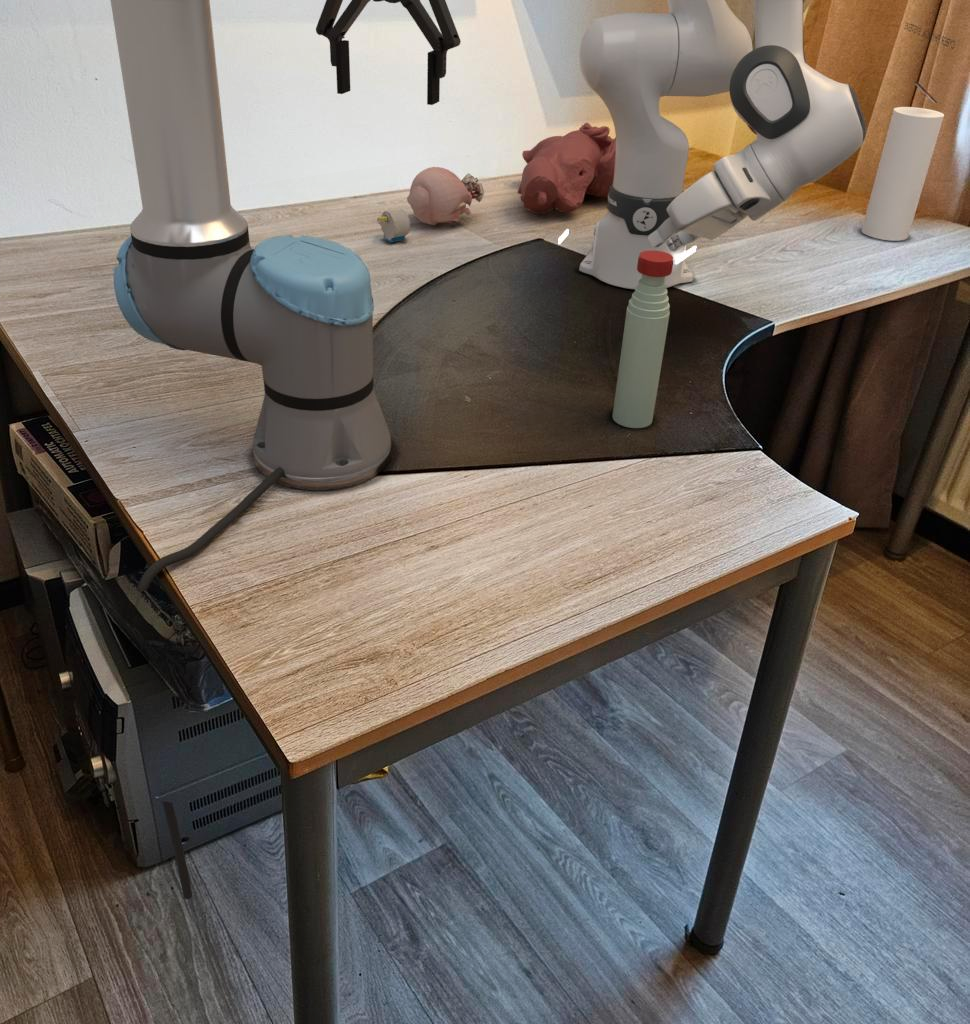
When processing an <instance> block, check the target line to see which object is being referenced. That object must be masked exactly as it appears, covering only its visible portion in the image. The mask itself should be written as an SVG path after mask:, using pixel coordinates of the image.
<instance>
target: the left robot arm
mask: <svg viewBox="0 0 970 1024" xmlns="http://www.w3.org/2000/svg"><path fill="white" fill-rule="evenodd" d="M343 1H344V0H325V3H324V5H323V8H322V11H321V13H320V16H319V19H318V22H317V24H316V27H315V33H316V34H317V35H318V36H323V37H324V38H326V39H327V40H328V42H329V54H330V56H329V57H330V65H331V67H335V70H336V71H335V72H336V94H339V95H343V94H346V93H349V92H351V67H350V66H351V63H350V41H349V40H345V38H346V36H345V35H347V33H348V31H349V30H350V29H351V27H352V26H353V24H354V23H355V21H356V20H357V19H358V18H359V16H360V14H361V13H362V12H363V10H364V9H365V8H366V6H367V5H368V4H369V3H370V2H371V1H372V2H377V3H380V2H384V1H385V2H387V3H389V4H398V3H400V4H401V5H402V7H403V8H405V9H406V10H407V12H408V13H409V15H410V17H411V18H412V20H413V21H414V22H415V24H416V26H417V27H418V29H419V31H420V32H421V33H422V35H423V36H424V38H425V39H426V40H427V43H428V44H429V46H430V47H431V48H432V50H431V51H428V52H427V74H426V75H427V79H426V80H427V85H426V87H427V88H426V105H429V106H433V105H435V104H438V103H440V93H441V92H440V91H441V90H440V89H441V87H440V86H441V83H440V81H441V79H443V78H445V77H446V74H447V54H448V51H449V50H451V49H454V48H457V47H459V46H460V45H461V42H462V41H461V38H460V35H459V33H458V30H457V27H456V24H455V22H454V19H453V17H452V14H451V11H450V9H449V7H448V4H447V1H446V0H428V2H429V5H430V8H431V10H432V13H433V15H434V18H435V21H436V23H437V25H438V26H437V25H436V23H435V22H434V20H433V19H432V17H431V15H429V13H428V11H427V9H426V8H425V6H424V5H423V3H422V2H421V0H351V1H350V2H349V3H348V5H347V6H346V8H345V9H344V11H343V12H342V14H341V15H340V16H339V18H338V19H337V17H338V14H339V12H340V9H341V6H342V4H343ZM110 6H111V12H112V19H113V20H112V21H113V27H114V31H115V39H116V45H117V52H118V59H119V64H120V70H121V77H122V84H123V90H124V96H125V97H124V98H125V103H126V110H127V116H128V122H129V123H128V124H129V129H130V136H131V142H132V149H133V156H134V161H135V169H136V175H137V180H138V187H139V194H140V199H141V206H142V210H141V211H140V212H139V214H138V215H137V216H136V217H135V218H134V220H133V221H132V222H131V224H130V225H129V232H130V236H128V237H127V238H126V239H125V240H124V241H123V243H122V244H121V246H120V247H119V249H118V252H117V256H116V260H117V261H118V265H117V266H114V268H113V288H114V294H115V298H116V302H117V305H118V307H119V310H120V312H121V315H122V316H123V318H124V319H125V321H126V323H127V324H128V325H129V327H130V328H131V329H133V331H134V332H136V333H137V334H138V335H139V336H141V337H143V338H144V339H145V340H148V341H150V342H154V343H157V344H161V345H164V346H167V347H169V348H171V349H174V350H178V351H191V352H197V353H202V354H207V355H211V356H216V357H222V358H226V359H231V360H236V361H242V362H248V363H251V364H252V363H253V364H257V365H259V366H261V370H262V379H263V388H264V390H263V391H264V396H263V400H262V404H261V408H260V412H259V415H258V419H257V423H256V427H255V430H254V434H253V439H252V441H253V442H252V455H253V460H254V464H255V467H256V468H257V470H258V471H259V472H260V473H261V474H262V475H263V476H265V477H266V478H265V479H264V480H262V481H261V482H260V483H259V484H258V485H257V486H255V488H254V489H252V491H250V493H249V494H247V496H245V497H244V499H242V500H241V501H240V502H239V503H238V504H237V505H236V506H235V507H234V508H233V509H232V510H231V511H229V512H228V513H227V514H226V515H224V516H223V517H222V518H221V519H220V520H219V521H218V522H216V523H214V525H212V526H211V527H210V528H208V530H206V532H204V533H203V534H202V535H201V536H200V537H199V538H198V539H197V540H195V541H194V542H192V543H191V544H190V545H188V546H187V547H185V548H183V549H180V550H177V551H174V552H172V553H170V554H167V555H164V556H162V557H161V558H158V559H157V560H155V561H154V562H153V563H152V564H150V566H149V567H147V569H146V570H145V571H144V573H143V574H142V576H141V577H140V580H139V581H138V584H137V586H136V588H135V589H136V592H137V593H143V592H145V591H147V590H148V589H149V587H150V586H151V584H152V582H153V581H154V579H155V577H156V576H157V575H158V574H159V573H160V572H161V571H162V570H164V569H166V568H167V567H170V566H172V565H175V564H177V563H180V562H183V561H185V560H187V559H190V558H191V557H193V556H194V555H196V554H198V553H199V552H200V551H201V550H203V549H204V548H205V547H206V546H207V545H209V544H210V543H211V542H212V541H213V540H215V539H216V538H217V536H219V535H220V534H221V533H222V532H223V531H224V530H226V529H227V528H228V527H229V526H230V525H232V524H233V523H235V521H237V519H239V518H240V517H241V516H242V515H243V514H244V513H245V512H246V511H247V510H248V509H249V508H250V507H251V506H252V505H253V504H254V503H255V502H257V500H259V498H261V497H262V496H263V495H264V494H265V493H266V492H267V491H268V490H269V489H270V488H271V487H273V486H274V484H276V483H278V484H280V485H283V486H286V487H290V488H295V489H301V490H312V491H314V490H315V491H323V490H327V491H328V490H337V489H342V488H348V487H351V486H355V485H358V484H361V483H363V482H366V481H368V480H370V479H373V478H374V477H375V476H377V475H378V474H380V473H381V472H382V471H383V470H384V469H385V468H386V467H387V466H388V464H389V463H390V461H391V458H392V437H391V432H390V430H389V427H388V424H387V422H386V419H385V417H384V413H383V411H382V408H381V406H380V403H379V400H378V398H377V395H376V393H375V385H374V320H373V319H374V318H373V317H374V315H373V314H374V308H375V301H374V297H373V292H372V283H371V275H370V270H369V267H368V266H367V264H366V263H365V262H364V260H363V259H362V258H361V257H360V256H359V254H357V253H356V252H355V251H353V250H352V249H351V248H348V247H346V246H345V245H343V244H340V243H338V242H335V241H331V240H329V239H324V238H322V237H317V236H310V235H300V236H299V237H296V236H293V235H288V234H287V235H279V236H273V237H269V238H265V239H264V240H262V241H260V242H259V243H258V244H257V245H255V247H254V248H253V247H251V242H250V241H251V240H250V233H249V223H248V220H247V219H246V218H245V216H243V215H242V214H240V213H239V212H238V211H237V210H236V209H234V207H233V206H232V203H231V194H230V185H229V183H230V182H229V175H228V174H229V173H228V165H227V156H226V155H227V154H226V146H225V137H224V129H223V128H224V127H223V118H222V117H223V115H222V106H221V97H220V88H219V78H218V67H217V59H216V57H217V56H216V49H215V40H214V30H213V29H214V28H213V21H212V20H213V19H212V11H211V2H210V0H110ZM336 19H337V21H336ZM161 803H162V807H163V812H164V816H165V819H166V824H167V828H168V832H169V837H170V841H171V844H172V849H173V854H174V857H175V862H176V866H177V871H178V877H179V881H180V885H181V886H180V887H181V892H182V896H183V899H184V900H190V899H191V898H192V897H193V891H192V886H191V885H192V884H191V880H190V875H189V870H188V865H187V860H186V855H185V850H184V847H183V846H184V845H183V841H182V838H181V837H182V836H181V833H180V829H179V825H178V820H177V816H176V812H175V808H174V803H173V802H170V801H165V800H162V801H161Z"/></svg>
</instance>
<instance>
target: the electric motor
mask: <svg viewBox="0 0 970 1024" xmlns="http://www.w3.org/2000/svg"><path fill="white" fill-rule="evenodd" d="M376 222H377V224H378V225H380V227H381V231H382V233H383V238H384V240H385V241H388V242H389V243H394V242H395V243H396V242H399V241H404V240H405V238H406V236H407V235H409V233H410V229H411V222H410V218H409V216H408V213H407V212H406V210H404V209H403V208H397V209H392V210H387V211H384V212H383V213H382V214H381V216H378V217H377V218H376Z"/></svg>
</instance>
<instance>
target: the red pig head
mask: <svg viewBox="0 0 970 1024" xmlns="http://www.w3.org/2000/svg"><path fill="white" fill-rule="evenodd" d="M610 130H611V129H610V127H608V126H607V125H605V126H604V125H602V126H600V127H598V126H592V125H591V124H590V123H589V122H585V123H584V124H581V126H580V127H579V129H576V130H573V131H570V132H568V133H566V134H565V135H554V136H549V137H546V138H544V139H542V140H540V141H539V142H538V143H536V145H535V146H534V147H532V148H531V149H529V150H523V151H522V153H521V156H522V158H523V160H524V162H525V163H526V164H525V166H524V168H523V170H522V172H521V173H522V174H521V180H520V181H521V182H520V185H519V186H518V189H517V194H518V195H520V200H521V202H522V203H523V207H524V209H525V210H529V211H530V212H532V213H535V214H546V213H549V212H551V211H552V210H553V209H554V208H555V209H556V210H557V211H559V212H560V213H564V214H569V213H573V212H575V211H578V209H579V208H581V206H582V203H584V199H585V195H591V196H593V197H596V198H599V197H604V198H606V197H607V198H608V194H609V190H610V186H611V185H612V184H613V179H614V169H615V155H616V136H614V138H612V137H611V136H610V135H609V134H610Z"/></svg>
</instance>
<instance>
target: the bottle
mask: <svg viewBox="0 0 970 1024" xmlns="http://www.w3.org/2000/svg"><path fill="white" fill-rule="evenodd" d="M664 280H665V277H651V276H646V275H643V274H642V278H641V279H640V280H639V282H638V285H637V286H636V288H635V289H634V291H633V292H632V294H631V298H630V299H629V300H628V305H627V306H626V312H625V319H624V326H623V327H624V329H623V335H622V341H621V350H620V357H619V366H618V372H617V380H616V386H615V394H614V401H613V408H612V409H613V410H612V417H611V418H612V420H613V421H614V422H615V423H616V424H618V425H620V426H622V427H625V428H630V429H644V428H647V427H649V426H650V425H651V424H652V423H653V419H654V413H655V408H656V401H657V396H658V388H659V384H660V383H659V382H660V375H661V371H662V370H661V369H662V365H663V358H664V351H665V344H666V340H667V333H668V328H669V321H670V315H671V311H670V309H671V308H670V307H671V305H670V303H669V299H670V298H669V296H668V288H666V282H665V281H664Z"/></svg>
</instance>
